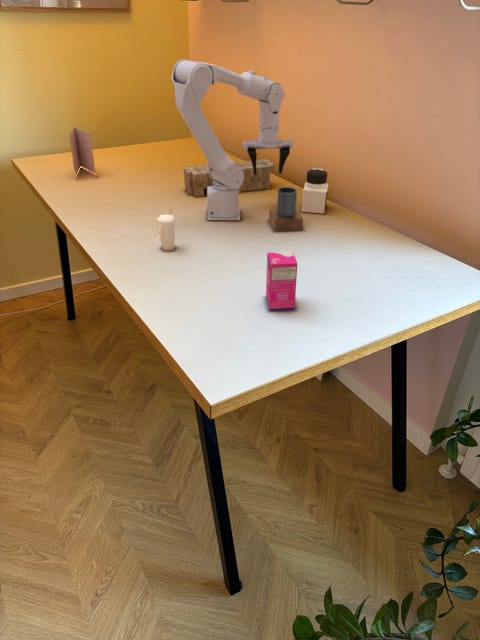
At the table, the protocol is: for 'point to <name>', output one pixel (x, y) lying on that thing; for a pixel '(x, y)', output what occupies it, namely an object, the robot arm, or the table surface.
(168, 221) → the milkshake
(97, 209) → the table surface
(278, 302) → the supplement box
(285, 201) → the cup
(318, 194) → the medicine bottle
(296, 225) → the block
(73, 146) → the greeting card
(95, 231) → the table surface
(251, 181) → the block tower
